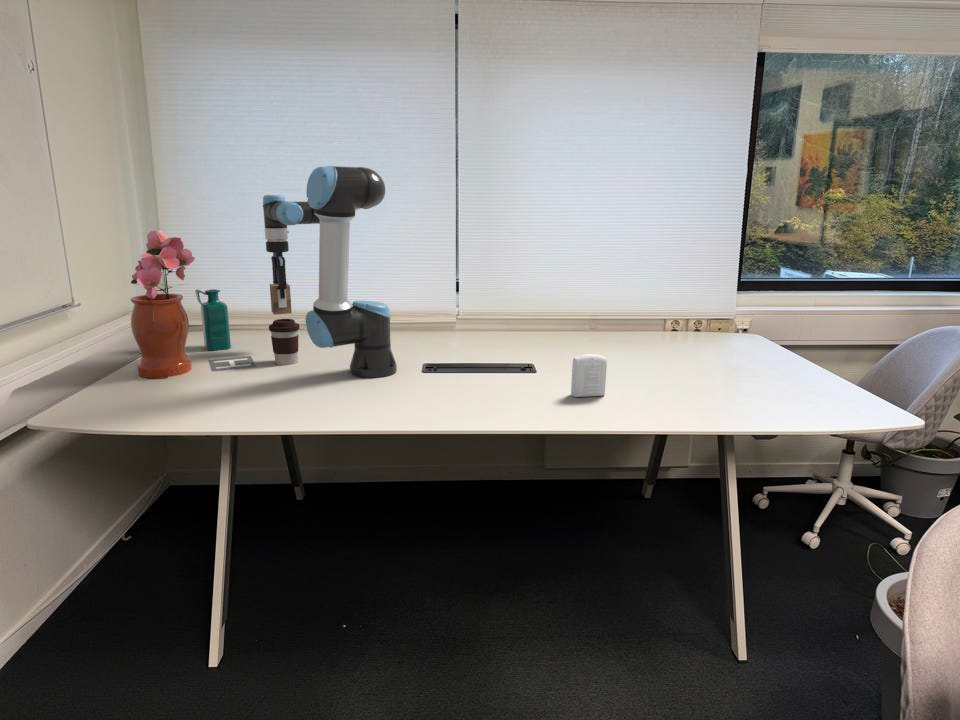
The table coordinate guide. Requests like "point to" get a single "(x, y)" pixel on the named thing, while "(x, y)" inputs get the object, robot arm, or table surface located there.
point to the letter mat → (231, 363)
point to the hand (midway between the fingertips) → (281, 305)
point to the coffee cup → (285, 341)
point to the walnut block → (274, 300)
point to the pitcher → (214, 321)
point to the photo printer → (588, 375)
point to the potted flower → (161, 309)
